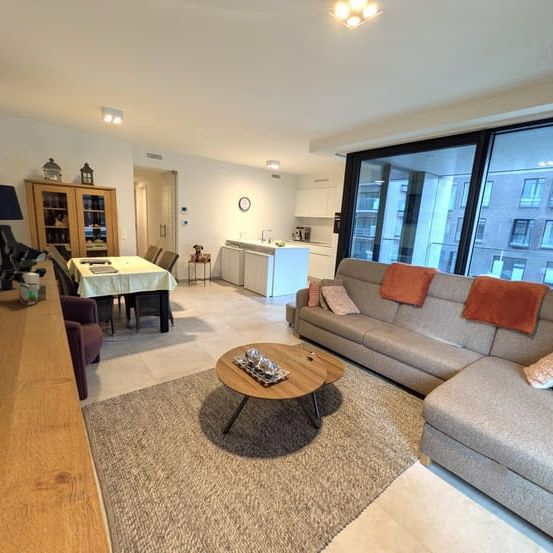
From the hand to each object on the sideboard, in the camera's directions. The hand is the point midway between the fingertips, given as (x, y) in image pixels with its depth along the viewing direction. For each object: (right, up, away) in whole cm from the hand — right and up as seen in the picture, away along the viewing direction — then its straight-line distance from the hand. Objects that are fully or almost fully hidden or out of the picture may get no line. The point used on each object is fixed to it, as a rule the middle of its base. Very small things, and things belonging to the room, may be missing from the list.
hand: (30, 286), depth 162 cm
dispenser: (+3, -8, -2) cm, 8 cm away
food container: (+7, -9, -7) cm, 13 cm away
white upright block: (0, -7, +1) cm, 7 cm away
